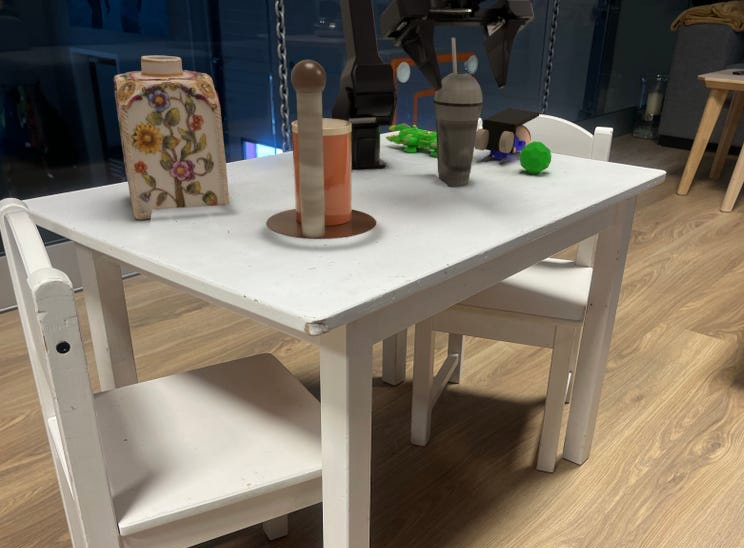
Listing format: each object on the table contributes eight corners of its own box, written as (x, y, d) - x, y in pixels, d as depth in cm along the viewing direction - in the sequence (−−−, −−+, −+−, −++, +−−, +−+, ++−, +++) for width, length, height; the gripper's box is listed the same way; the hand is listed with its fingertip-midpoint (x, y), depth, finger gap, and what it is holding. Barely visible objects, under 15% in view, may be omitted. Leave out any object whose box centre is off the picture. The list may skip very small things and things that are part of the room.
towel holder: (280, 213, 92) (272, 48, 83) (382, 218, 91) (384, 52, 82) (253, 246, 80) (239, 59, 72) (368, 252, 80) (369, 63, 71)
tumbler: (291, 211, 89) (287, 118, 84) (346, 208, 91) (345, 117, 86) (299, 227, 83) (295, 129, 78) (357, 224, 85) (357, 127, 80)
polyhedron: (515, 169, 118) (518, 139, 116) (544, 169, 119) (548, 139, 116) (522, 176, 114) (525, 145, 112) (552, 176, 114) (556, 145, 112)
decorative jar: (129, 196, 97) (107, 52, 89) (216, 191, 101) (204, 52, 93) (134, 221, 88) (110, 62, 79) (231, 214, 91) (218, 61, 83)
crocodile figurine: (464, 162, 122) (466, 136, 120) (377, 148, 131) (377, 123, 129) (483, 156, 127) (485, 130, 125) (398, 142, 135) (398, 118, 133)
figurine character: (507, 175, 120) (538, 150, 131) (510, 129, 116) (541, 107, 127) (470, 170, 123) (503, 145, 134) (472, 125, 119) (505, 103, 130)
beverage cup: (474, 190, 105) (485, 40, 96) (425, 186, 107) (431, 38, 97) (479, 178, 112) (490, 37, 102) (433, 175, 113) (439, 35, 104)
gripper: (407, -87, 75) (436, 62, 76) (549, -76, 83) (574, 58, 84) (366, -30, 86) (392, 101, 86) (496, -25, 93) (519, 94, 94)
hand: (471, 88), depth 87 cm, fingers open, 9 cm apart
